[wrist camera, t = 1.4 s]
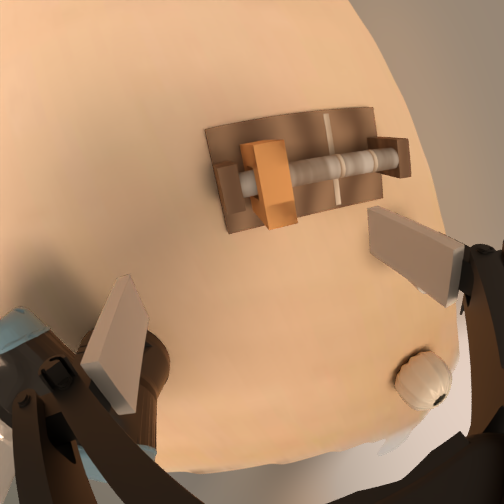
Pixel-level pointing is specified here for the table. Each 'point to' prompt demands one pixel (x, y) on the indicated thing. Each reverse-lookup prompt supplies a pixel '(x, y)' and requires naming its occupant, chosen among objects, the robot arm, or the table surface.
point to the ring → (270, 182)
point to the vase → (424, 381)
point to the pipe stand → (308, 161)
